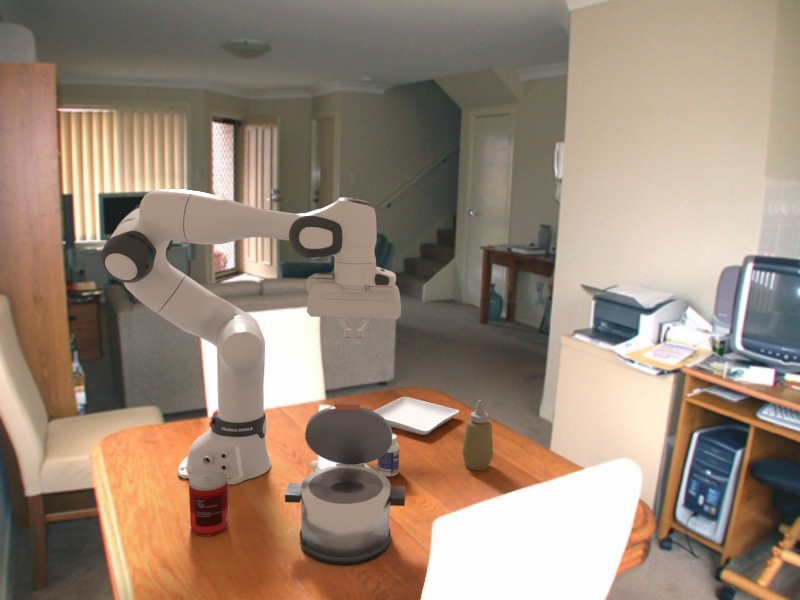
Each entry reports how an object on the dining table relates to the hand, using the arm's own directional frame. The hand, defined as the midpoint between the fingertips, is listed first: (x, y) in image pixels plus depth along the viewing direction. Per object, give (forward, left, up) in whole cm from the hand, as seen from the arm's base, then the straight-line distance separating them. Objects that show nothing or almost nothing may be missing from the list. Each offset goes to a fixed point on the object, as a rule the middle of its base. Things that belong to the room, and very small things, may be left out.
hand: (353, 337), depth 142 cm
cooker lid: (0, -11, -18) cm, 21 cm away
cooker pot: (0, -15, -39) cm, 42 cm away
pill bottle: (+8, +16, -39) cm, 43 cm away
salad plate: (+15, +51, -40) cm, 66 cm away
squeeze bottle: (+31, +21, -39) cm, 54 cm away
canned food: (-29, -12, -39) cm, 50 cm away
